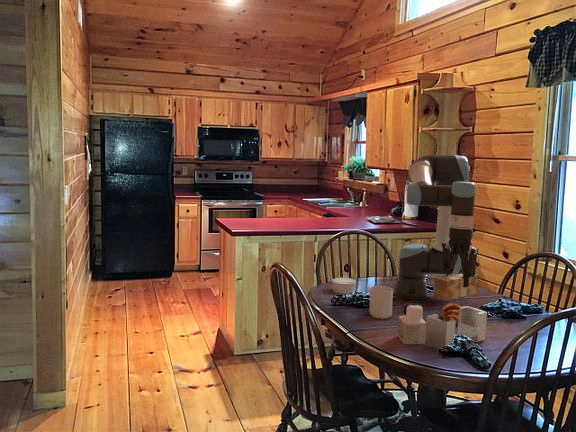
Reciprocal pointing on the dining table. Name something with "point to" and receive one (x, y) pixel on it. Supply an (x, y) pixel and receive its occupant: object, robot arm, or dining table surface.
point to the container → (412, 325)
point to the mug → (381, 301)
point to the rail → (454, 286)
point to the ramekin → (343, 285)
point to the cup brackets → (444, 331)
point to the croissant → (451, 312)
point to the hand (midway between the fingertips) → (456, 294)
